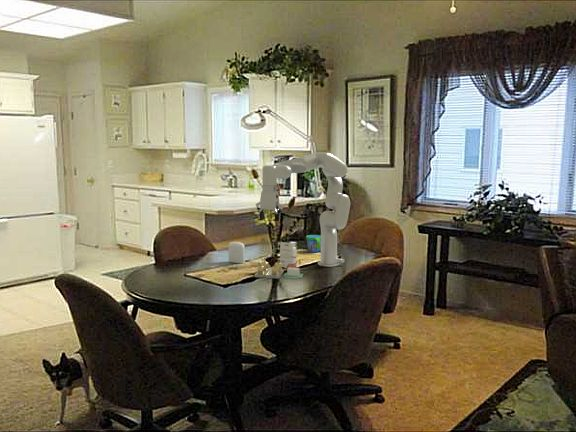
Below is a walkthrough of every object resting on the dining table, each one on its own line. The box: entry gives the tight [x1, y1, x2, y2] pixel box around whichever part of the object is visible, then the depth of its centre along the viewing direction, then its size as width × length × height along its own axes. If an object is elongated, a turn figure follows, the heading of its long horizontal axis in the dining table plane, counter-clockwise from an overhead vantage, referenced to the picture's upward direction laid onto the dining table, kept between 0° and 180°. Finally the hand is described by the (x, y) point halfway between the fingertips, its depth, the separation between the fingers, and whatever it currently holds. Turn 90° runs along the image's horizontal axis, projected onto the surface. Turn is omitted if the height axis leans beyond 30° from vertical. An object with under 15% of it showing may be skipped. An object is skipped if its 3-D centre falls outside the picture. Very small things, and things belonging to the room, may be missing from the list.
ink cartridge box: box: [279, 241, 297, 269], centre depth 320 cm, size 9×5×15 cm, turn 62°
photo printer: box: [227, 241, 246, 264], centre depth 331 cm, size 10×4×12 cm, turn 61°
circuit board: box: [282, 267, 304, 280], centre depth 301 cm, size 12×10×5 cm
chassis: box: [254, 259, 285, 279], centre depth 303 cm, size 14×13×7 cm
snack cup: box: [305, 234, 321, 253], centre depth 366 cm, size 16×10×10 cm
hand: (269, 220), depth 301 cm, fingers open, 9 cm apart
